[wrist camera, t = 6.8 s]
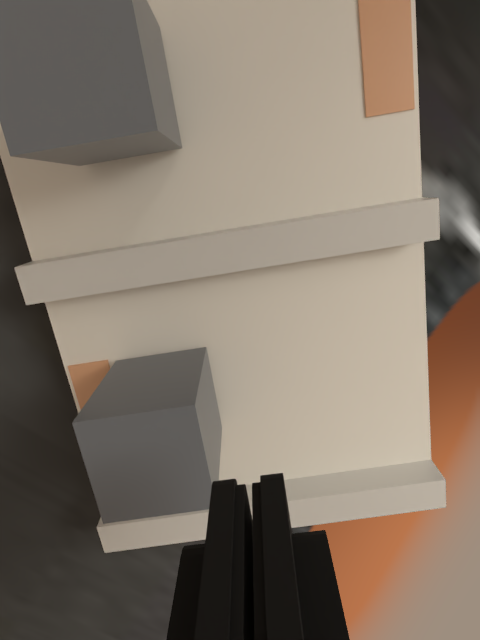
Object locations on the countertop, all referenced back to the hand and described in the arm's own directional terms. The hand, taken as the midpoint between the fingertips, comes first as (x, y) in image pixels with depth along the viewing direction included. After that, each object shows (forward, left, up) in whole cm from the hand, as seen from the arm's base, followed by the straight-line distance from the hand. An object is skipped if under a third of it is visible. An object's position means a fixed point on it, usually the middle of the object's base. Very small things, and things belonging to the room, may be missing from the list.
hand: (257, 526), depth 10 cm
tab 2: (+4, +1, -9) cm, 10 cm away
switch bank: (0, -5, -11) cm, 13 cm away
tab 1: (+3, -11, -9) cm, 15 cm away
